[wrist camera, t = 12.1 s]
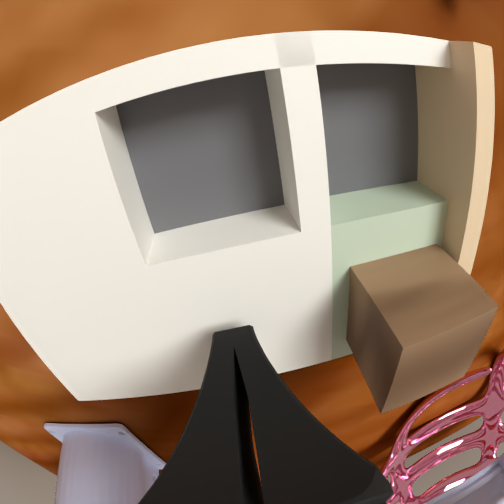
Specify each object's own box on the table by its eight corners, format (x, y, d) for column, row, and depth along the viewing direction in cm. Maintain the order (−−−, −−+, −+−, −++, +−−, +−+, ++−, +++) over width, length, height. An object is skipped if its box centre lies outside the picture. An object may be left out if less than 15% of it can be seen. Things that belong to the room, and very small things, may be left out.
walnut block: (421, 315, 13) (463, 376, 10) (346, 339, 13) (380, 414, 10) (436, 243, 11) (498, 305, 8) (350, 266, 11) (403, 348, 7)
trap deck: (414, 294, 16) (448, 339, 13) (86, 365, 15) (74, 419, 12) (426, 43, 9) (491, 46, 6) (-28, 147, 8) (-84, 179, 5)
